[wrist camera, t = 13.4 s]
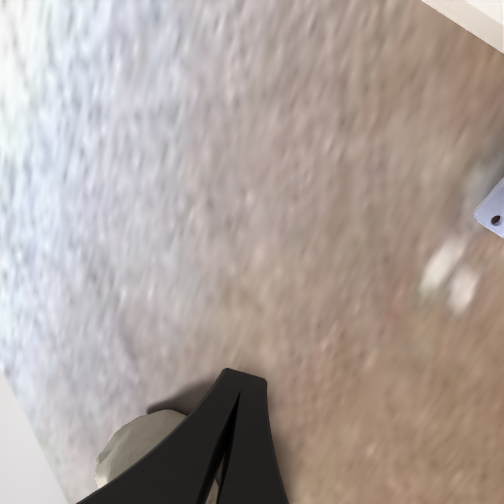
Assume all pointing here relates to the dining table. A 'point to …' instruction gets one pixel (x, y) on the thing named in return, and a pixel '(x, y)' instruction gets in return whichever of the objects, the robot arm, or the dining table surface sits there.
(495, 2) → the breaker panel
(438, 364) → the dining table surface
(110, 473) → the ceramic sculpture
